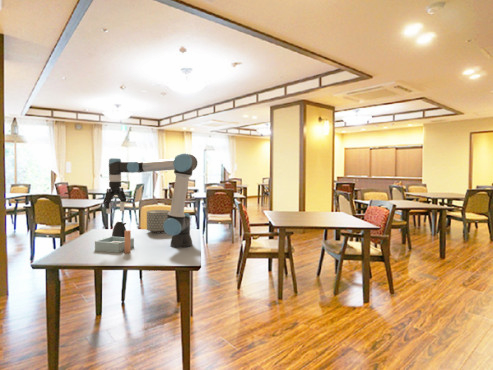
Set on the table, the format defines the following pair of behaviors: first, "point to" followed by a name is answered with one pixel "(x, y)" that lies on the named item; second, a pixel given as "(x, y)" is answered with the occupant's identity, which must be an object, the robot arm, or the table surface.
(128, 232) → the peg
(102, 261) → the table surface
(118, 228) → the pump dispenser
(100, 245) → the box
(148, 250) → the table surface
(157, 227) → the planter
